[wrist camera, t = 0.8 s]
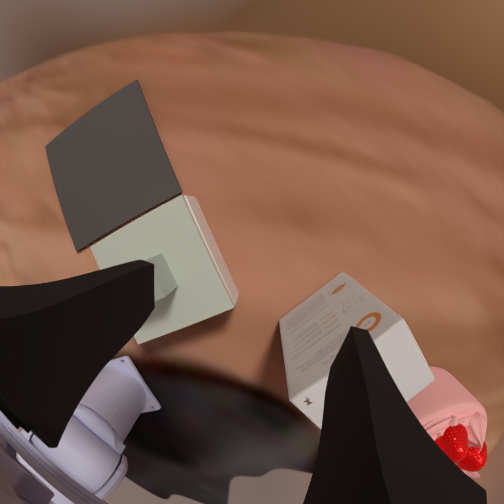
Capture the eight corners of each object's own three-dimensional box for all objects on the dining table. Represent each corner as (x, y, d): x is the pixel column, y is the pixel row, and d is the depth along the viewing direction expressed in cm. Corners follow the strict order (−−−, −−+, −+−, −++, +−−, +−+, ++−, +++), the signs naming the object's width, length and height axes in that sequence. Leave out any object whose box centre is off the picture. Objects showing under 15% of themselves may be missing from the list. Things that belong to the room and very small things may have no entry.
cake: (451, 430, 29) (489, 484, 15) (338, 481, 31) (353, 550, 17) (455, 337, 27) (524, 392, 13) (308, 404, 29) (326, 501, 15)
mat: (78, 250, 27) (76, 251, 27) (47, 146, 26) (45, 146, 25) (182, 192, 26) (181, 192, 26) (138, 81, 24) (136, 79, 24)
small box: (313, 361, 28) (338, 449, 15) (277, 319, 27) (285, 400, 14) (375, 315, 27) (437, 380, 14) (343, 269, 26) (403, 316, 13)
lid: (144, 337, 25) (123, 360, 21) (99, 244, 24) (69, 251, 20) (235, 301, 24) (229, 322, 20) (186, 196, 23) (168, 192, 19)
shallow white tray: (153, 326, 28) (141, 340, 25) (113, 240, 27) (95, 244, 24) (239, 293, 27) (235, 304, 24) (195, 197, 26) (185, 195, 23)
